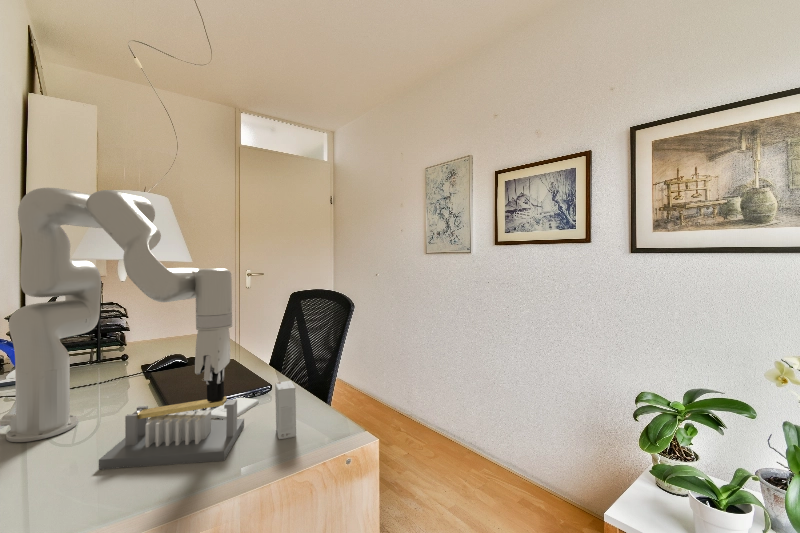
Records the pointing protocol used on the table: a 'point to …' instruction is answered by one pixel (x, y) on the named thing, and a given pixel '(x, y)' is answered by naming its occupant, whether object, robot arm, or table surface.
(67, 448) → the table surface
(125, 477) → the table surface
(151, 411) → the bar
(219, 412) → the external hard drive
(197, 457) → the cooler base
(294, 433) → the skincare box
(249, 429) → the table surface
